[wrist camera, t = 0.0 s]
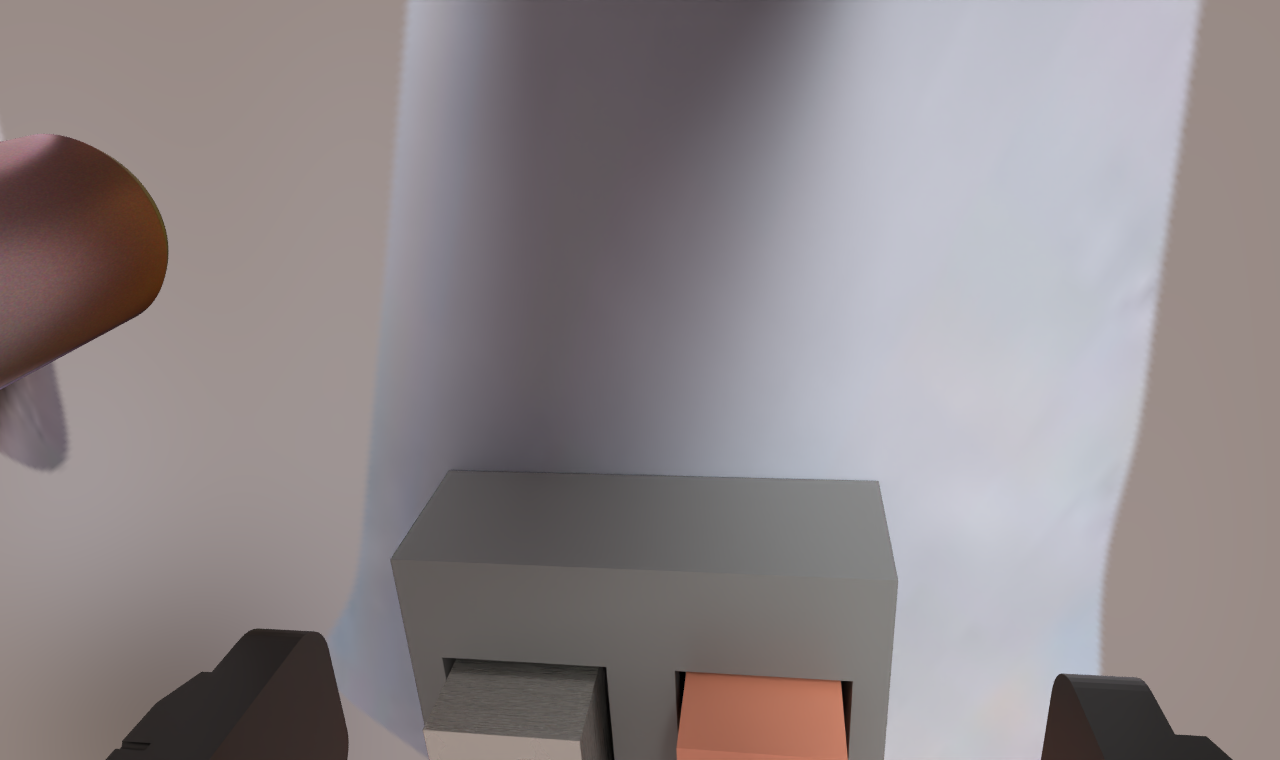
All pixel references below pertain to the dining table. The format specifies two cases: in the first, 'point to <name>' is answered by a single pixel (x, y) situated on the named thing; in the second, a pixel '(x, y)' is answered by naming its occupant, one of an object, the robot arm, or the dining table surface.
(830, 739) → the orange cube
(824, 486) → the grey plug holder
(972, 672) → the dining table surface
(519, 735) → the plug
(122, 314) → the beverage can
